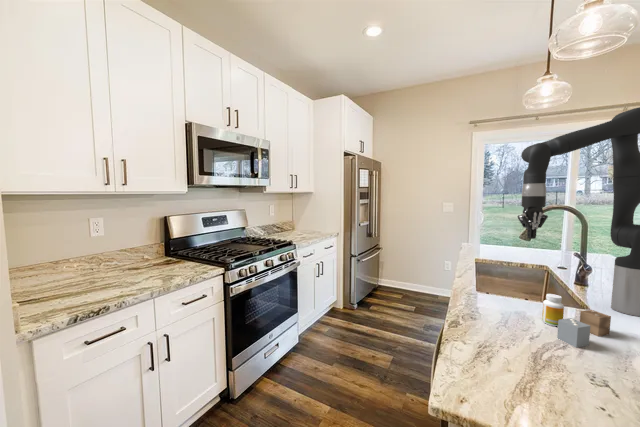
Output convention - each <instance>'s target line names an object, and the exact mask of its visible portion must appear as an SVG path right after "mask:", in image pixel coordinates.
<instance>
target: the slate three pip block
mask: <svg viewBox="0 0 640 427" xmlns="http://www.w3.org/2000/svg"><path fill="white" fill-rule="evenodd" d="M590 335H591V333H590V325H587V324H585V323H582V322H580V320H577V319H575V318H572V317H569V318H563V319H560V320H559V321H558V327H557V335H556V336H557V338H558V339H557V338H556V339H557V340H559V339H560V340H559V341H561V340H562V342H563V341H564V343H565V342H566V343H565V344H567V343H568V345H569V346H572V347H573V348H576V349H577V348H582V347H588V346H590V338H591V337H590Z"/></svg>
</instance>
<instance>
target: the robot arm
mask: <svg viewBox="0 0 640 427" xmlns="http://www.w3.org/2000/svg"><path fill="white" fill-rule="evenodd" d="M639 135H640V107H635V108H632V109H629V110H626V111H622V112H620V113H618V114H616V115H614V116H613V117H612V118H611V120H609V121H605V122H602V123H599V124H596V125H593V126H589V127H585V128H582V129H577V130H575V131H571V132H567V133H565V134H562V135H559V136H556V137H554V138H552V139H549V140H545V141H543V142H538V143H535V144H531V145H528V146H527V147H525V148H524V149H523V150H522V152H521V160H522V161H523V162H525V163H528V165H527V168H526V169H525V170H524V172H523V177H522V178H523V180H522V182H523V184H522V189H521V205H520V206H521V207H522V208H523V209H522V213H521V214H518V215H517V219H518V221H519V222H520V224H521V225H522V228H525V229H527V234H526V236H527V239H530V240H532V239H533V240H534V239H535V240H536V239H537V230H538V229H540V228H542V227H543V225H544V223H545V222H546V220H547V219H548V217H549V216H548V214H545V213H544V209H543V208H545V207H546V201H547V183H546V182H547V170H548V169H549V165H550V162H551V158H552V157H555V156H560V155H565V154H568V153H570V152H575V151H578V150H580V149H583V148H586V147H589V146H592V145H595V144H598V143H602V142H604V141H607V140H610V141H611V149H612V170H613V171H612V188H613V189H612V190H613V203H612V204H613V207H612V216H611V222H610V223H611V224H610V240H611V241H612V244H614V245H615V246H618V247H621V248H626V249H630V253H629V254H628V255H624V256H623V255H622V256H617V257H616V258H615V259H614V268H613V277H612V278H613V279H612V289H611V291H612V292H611V301H610V302H611V303H610V308H611V309H612V310H614V311H617V312H618V313H622V314H626V315H629V316H630V315H631V316H635V317H640V224H637V223H636V224H635V222H634V215H635V213H636V212H635V211H636V210H637V208H638V206H639V205H640V149H639V141H638V140H639V139H638V138H639Z"/></svg>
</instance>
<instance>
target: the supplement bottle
mask: <svg viewBox="0 0 640 427" xmlns="http://www.w3.org/2000/svg"><path fill="white" fill-rule="evenodd" d="M545 298H546V299H545V300H543V302H542V315H541V321H542V323H543V324H545V323H546V325H548V326H551V327H555V326H557V327H556V328H558V321H559V320H560V319H564V315H565V313H564V310H565V306H564V304H563V303H562V300H563V297H562V296H561V295H557V294H553V293H546V296H545Z"/></svg>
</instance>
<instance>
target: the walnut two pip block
mask: <svg viewBox="0 0 640 427" xmlns="http://www.w3.org/2000/svg"><path fill="white" fill-rule="evenodd" d="M611 321H612V316H611V315H608V314H605V313H602V312H599V311H596V310H593V309H587V310H580V313H579V322H582V323H585V324H587V325H590V335H593V336H596V337H603V335H605V336H610V334H611V333H610V332H611V323H612V322H611Z"/></svg>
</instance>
